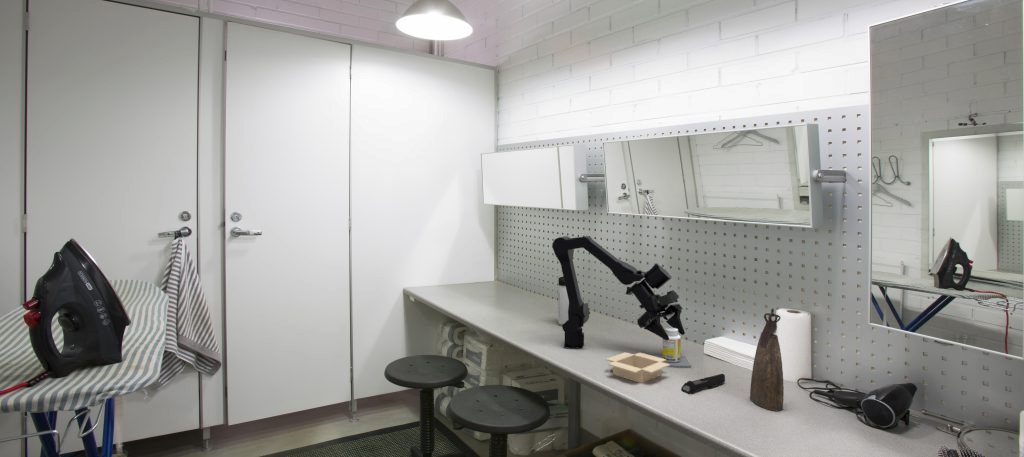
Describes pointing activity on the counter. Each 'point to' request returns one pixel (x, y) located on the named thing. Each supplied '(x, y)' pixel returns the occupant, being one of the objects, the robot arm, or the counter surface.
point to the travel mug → (562, 302)
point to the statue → (768, 368)
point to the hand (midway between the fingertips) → (676, 337)
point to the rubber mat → (681, 364)
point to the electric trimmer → (703, 383)
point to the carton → (637, 366)
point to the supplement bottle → (672, 346)
